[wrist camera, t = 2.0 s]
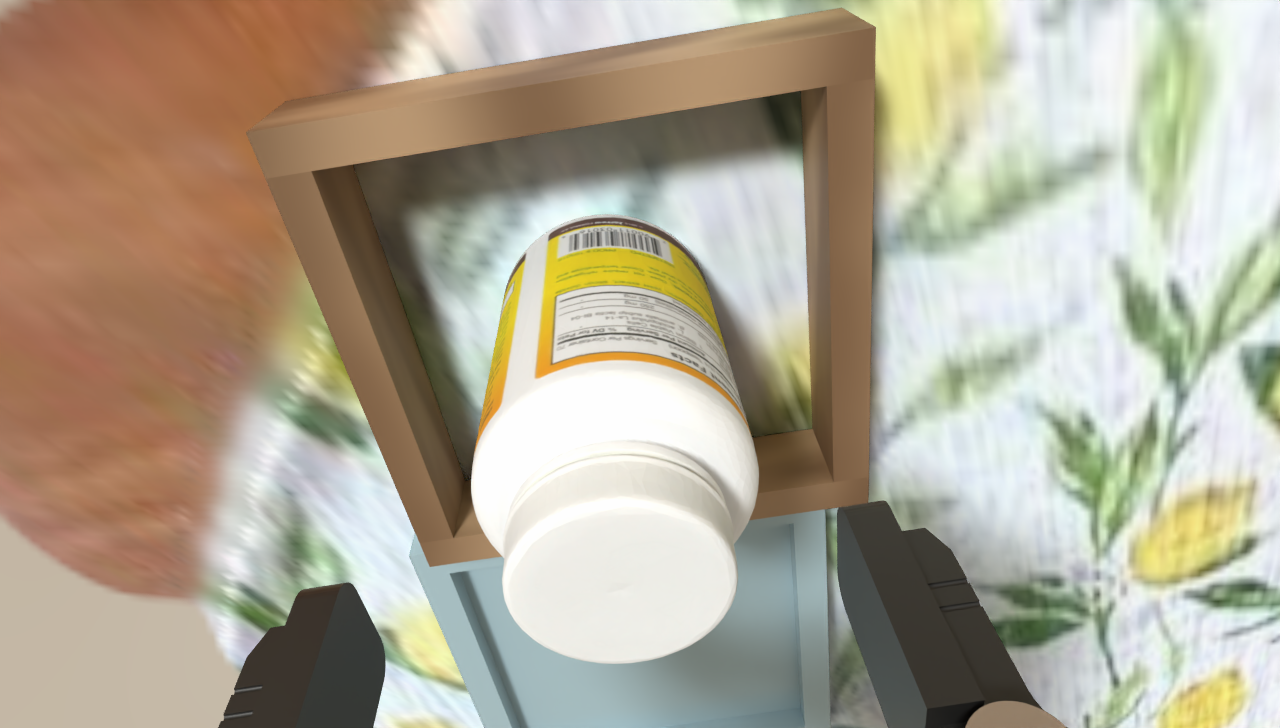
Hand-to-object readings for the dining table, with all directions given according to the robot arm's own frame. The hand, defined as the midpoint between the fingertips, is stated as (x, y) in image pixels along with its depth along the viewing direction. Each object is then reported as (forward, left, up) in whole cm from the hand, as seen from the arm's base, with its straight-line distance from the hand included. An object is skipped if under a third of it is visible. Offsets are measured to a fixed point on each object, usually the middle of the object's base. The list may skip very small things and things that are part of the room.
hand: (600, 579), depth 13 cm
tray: (+1, +14, -10) cm, 17 cm away
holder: (0, 0, -10) cm, 10 cm away
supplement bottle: (0, 0, -10) cm, 10 cm away
